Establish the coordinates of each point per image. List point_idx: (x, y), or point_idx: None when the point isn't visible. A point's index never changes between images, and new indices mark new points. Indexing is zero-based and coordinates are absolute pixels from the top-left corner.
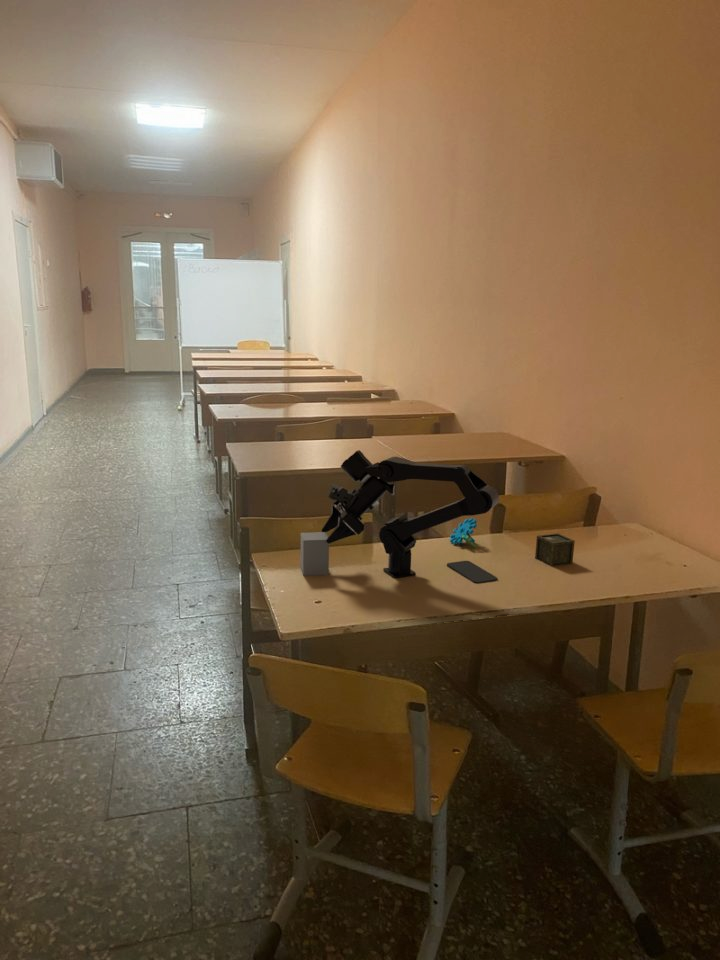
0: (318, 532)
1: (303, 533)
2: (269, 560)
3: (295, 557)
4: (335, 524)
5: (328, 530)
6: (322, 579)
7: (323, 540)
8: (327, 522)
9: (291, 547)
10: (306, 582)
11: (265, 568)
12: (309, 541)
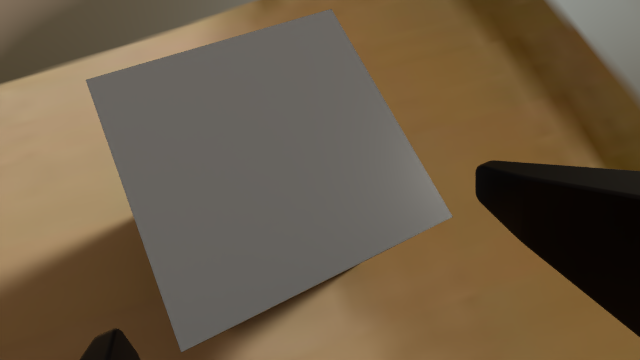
0: (408, 153)
1: (322, 33)
2: (342, 4)
3: (423, 92)
4: (635, 300)
5: (516, 233)
6: (138, 318)
7: (160, 282)
8: (588, 193)
9: (534, 46)
10: (72, 242)
11: (238, 12)
12: (110, 140)
